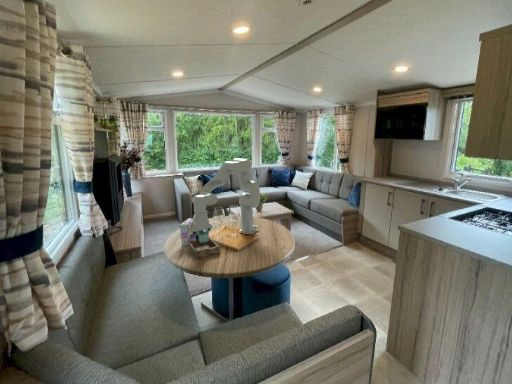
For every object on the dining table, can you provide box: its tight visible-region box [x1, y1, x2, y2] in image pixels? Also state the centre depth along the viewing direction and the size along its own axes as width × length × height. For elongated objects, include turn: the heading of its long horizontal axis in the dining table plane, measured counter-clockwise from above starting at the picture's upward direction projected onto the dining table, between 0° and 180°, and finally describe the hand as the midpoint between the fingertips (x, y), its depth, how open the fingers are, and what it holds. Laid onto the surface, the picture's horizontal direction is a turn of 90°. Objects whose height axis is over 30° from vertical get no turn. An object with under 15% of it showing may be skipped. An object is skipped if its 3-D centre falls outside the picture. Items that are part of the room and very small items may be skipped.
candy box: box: [179, 217, 196, 247], centre depth 186 cm, size 14×6×16 cm, turn 168°
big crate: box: [187, 236, 221, 260], centre depth 173 cm, size 16×20×5 cm
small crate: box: [198, 230, 210, 243], centre depth 171 cm, size 6×10×5 cm, turn 31°
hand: (202, 238), depth 171 cm, fingers closed on small crate, 6 cm apart
